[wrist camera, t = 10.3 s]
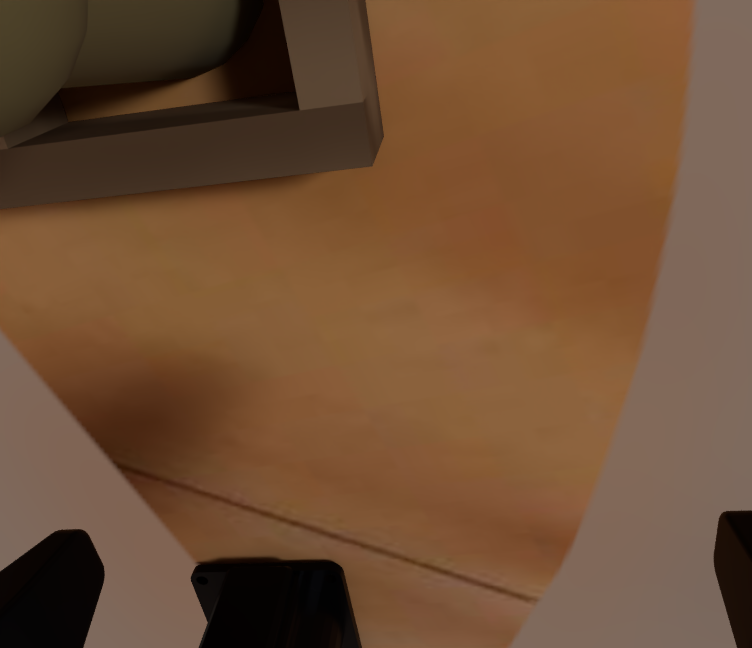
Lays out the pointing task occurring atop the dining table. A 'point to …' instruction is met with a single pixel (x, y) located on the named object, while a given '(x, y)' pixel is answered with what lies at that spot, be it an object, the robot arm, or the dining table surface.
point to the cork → (110, 45)
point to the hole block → (215, 126)
